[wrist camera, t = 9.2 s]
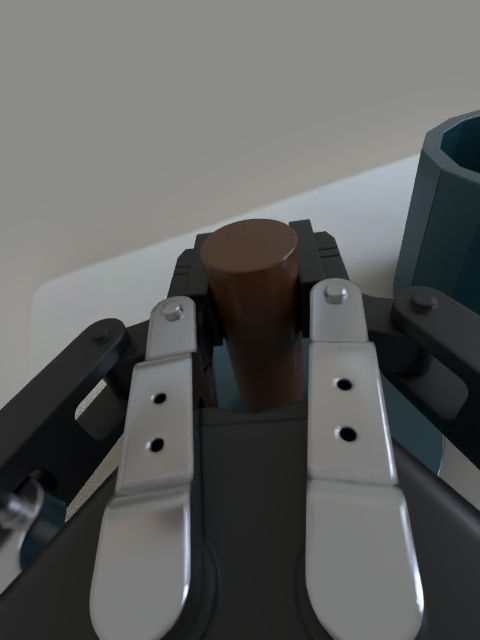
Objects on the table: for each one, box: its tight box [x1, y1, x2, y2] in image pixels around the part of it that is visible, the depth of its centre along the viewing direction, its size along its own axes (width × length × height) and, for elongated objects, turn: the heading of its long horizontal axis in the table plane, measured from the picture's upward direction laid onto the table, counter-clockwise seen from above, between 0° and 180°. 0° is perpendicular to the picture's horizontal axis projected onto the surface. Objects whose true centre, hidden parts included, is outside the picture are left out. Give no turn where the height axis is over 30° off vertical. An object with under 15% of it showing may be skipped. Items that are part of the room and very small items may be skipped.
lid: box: [200, 219, 445, 476], centre depth 11 cm, size 12×12×8 cm
